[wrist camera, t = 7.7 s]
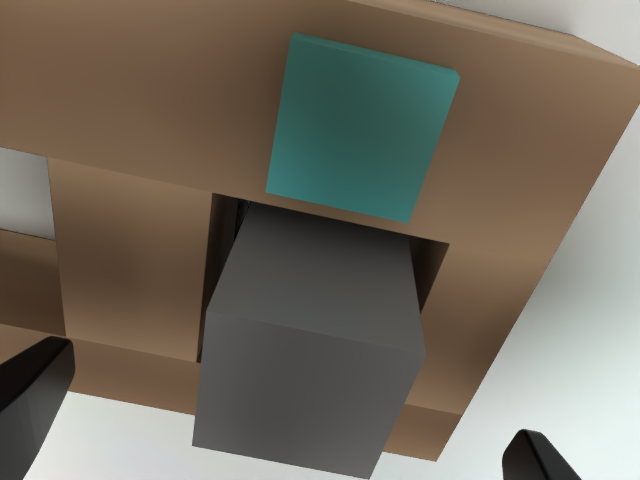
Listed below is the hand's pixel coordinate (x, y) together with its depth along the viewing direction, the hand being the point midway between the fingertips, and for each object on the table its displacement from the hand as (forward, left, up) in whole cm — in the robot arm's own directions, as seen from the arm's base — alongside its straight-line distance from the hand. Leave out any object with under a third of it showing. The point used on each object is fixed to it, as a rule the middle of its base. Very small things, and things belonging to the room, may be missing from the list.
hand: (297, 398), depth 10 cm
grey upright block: (0, 0, -7) cm, 7 cm away
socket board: (+1, +4, -7) cm, 8 cm away
